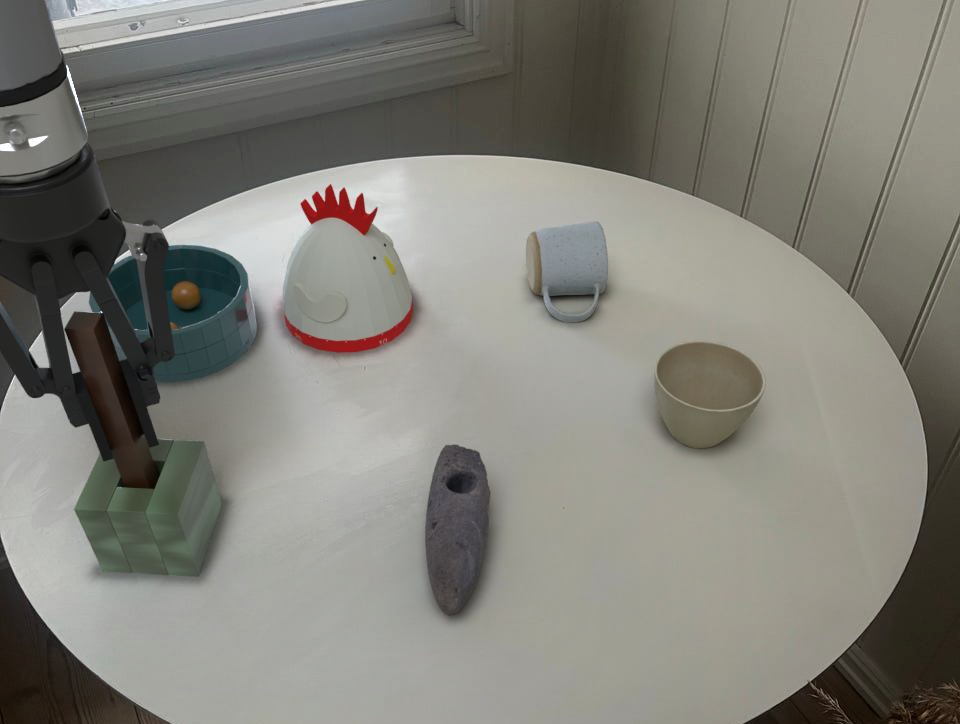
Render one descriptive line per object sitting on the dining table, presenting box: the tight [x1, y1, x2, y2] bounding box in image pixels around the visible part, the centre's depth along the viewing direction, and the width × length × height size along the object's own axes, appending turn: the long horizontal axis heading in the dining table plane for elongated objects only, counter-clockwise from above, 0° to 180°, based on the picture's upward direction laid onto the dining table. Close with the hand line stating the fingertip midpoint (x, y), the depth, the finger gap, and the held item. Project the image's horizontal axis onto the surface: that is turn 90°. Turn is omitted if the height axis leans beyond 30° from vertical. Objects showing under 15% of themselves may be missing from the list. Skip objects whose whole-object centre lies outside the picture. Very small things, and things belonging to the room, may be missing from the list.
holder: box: [73, 438, 223, 578], centre depth 76 cm, size 8×8×8 cm
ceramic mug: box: [525, 221, 609, 323], centre depth 101 cm, size 11×8×8 cm
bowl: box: [88, 244, 258, 383], centre depth 96 cm, size 16×16×6 cm
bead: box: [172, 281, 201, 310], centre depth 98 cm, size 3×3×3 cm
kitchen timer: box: [281, 183, 414, 354], centre depth 95 cm, size 14×14×15 cm
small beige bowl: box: [653, 340, 767, 449], centre depth 86 cm, size 10×10×7 cm
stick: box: [63, 310, 159, 489], centre depth 70 cm, size 2×2×22 cm
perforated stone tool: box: [424, 444, 491, 617], centre depth 75 cm, size 15×5×7 cm, turn 175°
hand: (127, 441), depth 70 cm, fingers closed on stick, 3 cm apart
